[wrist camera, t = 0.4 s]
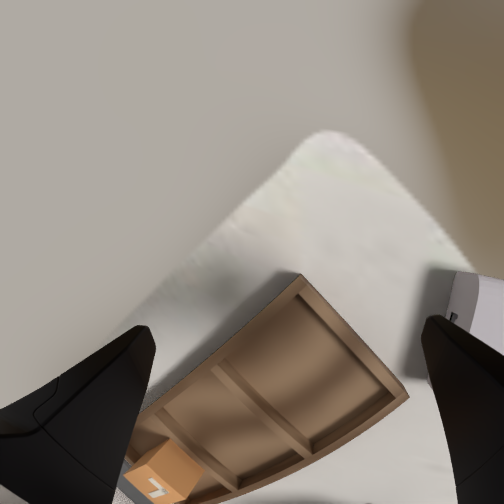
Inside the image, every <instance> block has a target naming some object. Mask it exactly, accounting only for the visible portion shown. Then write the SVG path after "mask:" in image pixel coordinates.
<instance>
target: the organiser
mask: <svg viewBox="0 0 504 504" xmlns="http://www.w3.org/2000/svg"><path fill="white" fill-rule="evenodd" d="M408 398H410V397H409V395H408V393H407V391H406V389H405V388H404V386H403V384H402V383H401V382H400V381H399V380H398V379H397V378H396V377H395V375H394V374H393V373H392V372H391V371H390V370H389V369H388V368H387V366H386V365H385V364H384V363H383V362H382V361H381V360H380V359H379V358H378V356H377V355H376V354H375V353H374V352H373V351H372V350H371V349H370V348H369V346H368V345H367V344H366V343H365V342H364V341H363V340H362V339H361V338H360V337H359V336H358V334H357V333H356V332H355V331H354V330H353V329H352V328H351V327H350V326H349V325H348V323H347V322H346V321H345V320H344V319H343V318H342V317H341V316H340V315H339V314H338V313H337V312H336V310H335V309H334V308H333V307H332V306H331V305H330V304H329V303H328V302H327V301H326V300H325V299H324V298H323V296H322V295H321V294H320V293H319V292H318V291H317V290H316V289H315V288H314V287H313V286H312V285H311V284H310V283H309V282H308V280H307V279H306V278H305V277H304V276H303V275H302V274H300V275H299V276H298V277H297V278H296V279H295V280H294V281H293V282H292V283H291V284H290V285H289V286H288V287H287V288H286V289H285V290H283V291H282V292H281V293H280V294H279V295H278V296H277V297H276V298H275V299H274V300H273V301H272V302H271V303H269V304H268V305H267V306H266V307H265V308H264V309H263V310H262V311H261V312H260V313H258V314H257V315H256V316H255V317H254V318H253V319H252V320H251V321H250V322H248V323H247V324H246V325H245V326H244V327H243V328H242V329H241V330H239V331H238V332H237V333H236V334H235V335H234V336H233V337H232V338H230V339H229V340H228V341H227V342H226V343H225V344H223V345H222V346H221V347H220V348H219V349H218V350H217V351H215V352H214V353H213V354H212V355H211V356H210V357H208V358H207V359H206V360H205V361H204V362H202V363H201V364H200V365H199V366H198V367H197V368H195V369H194V370H193V371H192V372H191V373H189V374H188V375H187V376H186V377H185V378H183V379H182V380H181V381H180V382H179V383H177V384H176V385H175V386H174V387H172V388H171V389H170V390H169V391H167V392H166V393H165V394H164V395H162V396H161V397H160V398H159V399H157V400H156V401H155V402H154V403H152V404H151V405H150V406H149V407H147V408H146V409H145V410H144V411H142V412H141V413H140V414H138V417H137V420H136V423H135V426H134V429H133V432H132V436H131V439H130V442H129V445H128V448H127V452H126V455H125V459H126V460H127V461H128V462H129V463H130V464H131V465H132V466H133V465H134V464H135V463H136V462H137V461H138V460H139V459H140V458H141V457H142V456H143V455H144V454H145V453H146V452H147V451H149V450H151V449H153V448H154V447H156V446H158V445H160V444H161V443H163V442H165V441H166V440H168V439H171V440H172V441H174V442H175V443H176V444H177V445H178V446H179V447H180V448H181V449H182V450H183V451H184V452H185V453H186V454H187V455H188V456H189V457H190V458H192V459H193V460H194V461H195V462H196V463H197V464H198V465H199V466H201V467H202V468H203V469H204V470H205V471H204V473H203V474H202V476H201V477H200V479H199V481H198V482H197V484H196V485H195V487H194V488H193V490H192V491H191V493H190V494H189V496H188V497H187V498H186V499H185V500H182V501H179V502H175V503H174V504H218V503H221V502H224V501H227V500H230V499H233V498H235V497H238V496H241V495H244V494H246V493H249V492H251V491H254V490H256V489H259V488H261V487H264V486H266V485H268V484H271V483H273V482H275V481H277V480H279V479H282V478H284V477H286V476H288V475H290V474H292V473H294V472H296V471H298V470H300V469H302V468H304V467H306V466H308V465H310V464H312V463H314V462H315V461H317V460H319V459H321V458H323V457H324V456H326V455H328V454H330V453H331V452H333V451H335V450H336V449H338V448H340V447H341V446H343V445H344V444H346V443H348V442H349V441H351V440H352V439H354V438H355V437H357V436H358V435H360V434H361V433H363V432H364V431H366V430H367V429H369V428H370V427H372V426H373V425H375V424H376V423H377V422H379V421H380V420H381V419H383V418H384V417H385V416H387V415H388V414H389V413H391V412H392V411H393V410H395V409H396V408H397V407H399V406H400V405H401V404H402V403H404V402H405V401H406V400H407V399H408Z"/></svg>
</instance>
